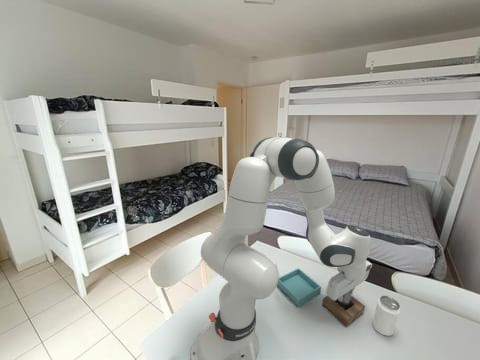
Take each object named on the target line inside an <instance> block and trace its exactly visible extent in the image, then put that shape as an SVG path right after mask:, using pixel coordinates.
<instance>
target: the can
mask: <svg viewBox="0 0 480 360" xmlns="http://www.w3.org/2000/svg"><path fill="white" fill-rule="evenodd" d="M400 313H401V309H400V303H399V302H398V301H397V300H396V299H395V298H394V297H391V296H390V295H389V296H388V295H382V296H381V297H380V298H379V299H378V300H377V302H376V306H375V310H374V314H373V319H372V321H371V323H372V326H373V328H374V330H375V331H376V332H378V333H379V334H381V335H383V336H386V337H387V336H388V337H389V336H392V335H393V334H394V331H395V329H396V326H397V322H398V319H399V317H400Z"/></svg>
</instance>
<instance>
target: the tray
mask: <svg viewBox="0 0 480 360" xmlns="http://www.w3.org/2000/svg"><path fill="white" fill-rule="evenodd" d="M276 288H278V289H279V290H280V291H281V293H283V294H284V295H285V297H287V298H288V299H289V300H290V302H291V303H292V304H293V305H294V306H295V307H296V308H297V309H298V308H300V307H302V306H304V305H305V304H307V303H309V302H310V301H311V300H313V299H315V298H316V297H318V296H320V295H321V291H322V286H321V285H319V283H317V281H315V280H314V279H313V278H311V277H310V276H309V275H308V274H306V273H305V272H304V271H303V270H302V269H300V267H298V268H295V269H293V270H291V271H290V272H288V273H286V274H284V275H282V276H279V280H278V284H277V287H276Z"/></svg>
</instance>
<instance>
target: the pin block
mask: <svg viewBox="0 0 480 360" xmlns="http://www.w3.org/2000/svg"><path fill="white" fill-rule="evenodd" d="M321 306H322V307H323V308H324V309H325V310H327V312H329V313H330V315H332V316H333V317H334V318H335V320H337V321H338V322H339V323H340V324H342V326H344V327H345V328H347V327H349V326H350V325H351V324H353V323H354V322H355V321H357V319H359V318H360V317H361V316H363V315H364V312H365V308H366V306H365V305H364V304H363V303H362V302H360V301H359V300H358V299H356V298H355V297H354V296H352V295H351V300H350V304H349V309H348V310H346V311H345V310H344V309H343V308H342V307H341V306H340V305H338V299H337V300H335V301H334V300H332V299H331V298H330V297H329V296H328V295H327V294H326V295H325V296H324V297H323V298H322V304H321Z"/></svg>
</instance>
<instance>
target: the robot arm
mask: <svg viewBox="0 0 480 360" xmlns="http://www.w3.org/2000/svg"><path fill="white" fill-rule="evenodd" d="M277 177H278V178H283V179H287V180H289V181H294V185H295V188H296V191H297V195H298V198H299V200H300V202H301V204H302V205H303V208H304V213H305V217H306V223H307V225H306V226H307V227H306V229H305V230H306V231H305V237H306V240H307V242H308V243H309V244H310V245H311V247H312V249H313V251H314V252H315V254H316V256H317V257H318V259H319V260H320V262H321V263H322V264H323V265H325V266H326V267H330V268H336V269H337V272H338V273H336V274H335V275H333V276H331V277H330V279H329V280H328V284H327V287H326V290H325V293H326V296H327V295H328V296H329V297H330V298H331V299H332V300H334V301H335V300H337V299H338V300H339V301H340V302H342V301H343V300H344V296H343V295H344V294H346V293H347V292H349V291H350V290H352V295H353V293H354V291H355V289H356V287H358V286H359V285H361V284H362V283H364V282H365V281H366V279H367V278H368V276H369V274H370V270H371V269H372V267H373V263H371V262H370V261H369V260H367V258H368V257H369V256H370V251H371V245H372V244H371V240H372V239H371V235H370V233H369V232H367V230H365V229H364V228H362V227H361V226H357V225H353V224H349V225H347V226H346V227H345V228H344V229H343V230H342V231H340V232H339V233H335V232H334V231H333V230H332V228H331V227H330V226H329V224H328V223H327V222H326V221H325V220H326V219H325V216H324V211H323V210H324V209H326V208H328V207H329V206H331V205H332V204H333V202H334V201H335V198H336V197H335V195H336V194H335V193H336V190H335V189H336V188H335V184H334V179H333V175H332V172H331V168H330V165H329V164H328V161H327V159H326V156H325V154H324V153H323V152H322V151H321V150H318V149H317V148H315V146H314V145H313V144H312V143H310V142H309V141H307V140H304V139H302V138H290V137H286V136H275V137H271V136H270V137H266V138H264V139H261V140H259V142H257V144H256V145H255V146H254V148H253V150H252V152H251V153H250V155H249V156H247V157H244V158H241V159H240V160H239V161H238V162H236V165H235V168H234V171H233V174H232V178H231V181H230V185H229V190H228V195H227V202H226V207H225V212H224V217H223V220H222V223H221V225H220V227H219V228H218V229H217V230H216V231H215V232H213V233H211V234H209V235H208V236H207V237H206V238H205V239H204V241H203V243H202V245H201V247H200V257H201V259H202V260H203V262H204V263H206V265H207V266H208V267H209V269H210V270H212V271H214V272H215V273H216V274H218V275H219V276H220V277H222V278H223V279H224V280H225V281H226V283H225V284H224V285H223V287H222V288H221V290H220V292H219V295H218V298H219V309H218V312H217V314H215V313H214V312H211V313H209V315H208V318H209V320H210V322H211V323H210V324H209V325H208V326H207V327H206V329H205V330H203V331H202V333H200V335H199V337H198V340H197V341H195V343H193V344H192V346H191V349H190V360H256V358H257V355H258V353H259V348H260V344H259V343H260V342H259V339H258V336H257V332H256V324H257V312H256V301H257V300H258V301H259V300H264V299H267V298H268V297H270V296H271V295H272V294H274V292H275V290H276V289H277V288H278V287H277V284H278V280H279V277H280V274H279V269H278V266H277V265H276V263H275V262H274V261H272V260H271V259H270V258H269V257H268V256H266V255H265V254H264V253H262V252H261V251H258V250H257V249H255V248H252V247H251V246H249V245H247V244H246V238H247V236H250V235H252V236H253V235H254V234H257V233H258V232H260V231H261V230H262V229H263V227H264V224H265V219H266V215H267V208H268V203H269V198H270V197H269V196H270V192H271V190H270V189H271V187H272V184H273V182H274V181H275V180H276V178H277Z"/></svg>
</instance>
